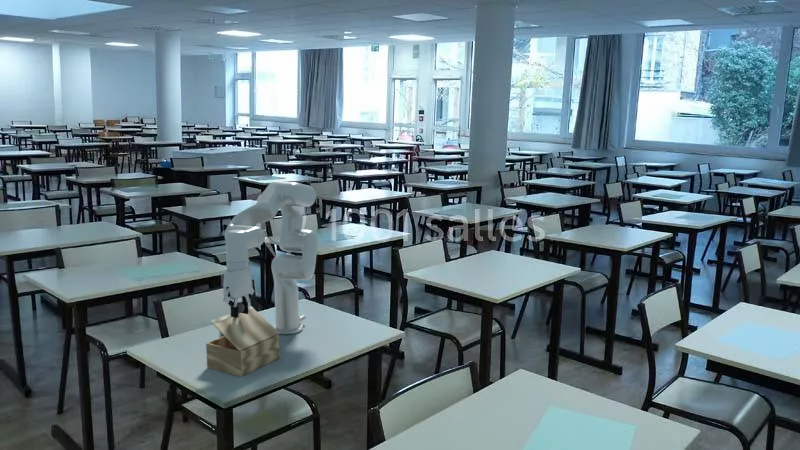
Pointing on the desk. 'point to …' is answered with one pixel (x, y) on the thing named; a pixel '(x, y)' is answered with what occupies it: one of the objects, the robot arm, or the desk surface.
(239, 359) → the wooden box
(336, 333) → the desk surface
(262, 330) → the wooden box lid
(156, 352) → the desk surface
